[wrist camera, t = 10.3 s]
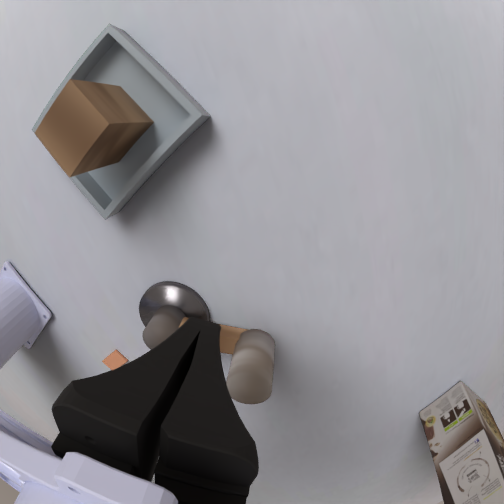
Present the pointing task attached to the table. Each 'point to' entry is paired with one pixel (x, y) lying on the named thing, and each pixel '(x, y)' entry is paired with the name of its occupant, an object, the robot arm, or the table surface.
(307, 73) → the table surface
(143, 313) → the crank base
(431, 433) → the coffee box
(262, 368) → the crank lever
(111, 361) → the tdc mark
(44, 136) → the block
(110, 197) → the tray
